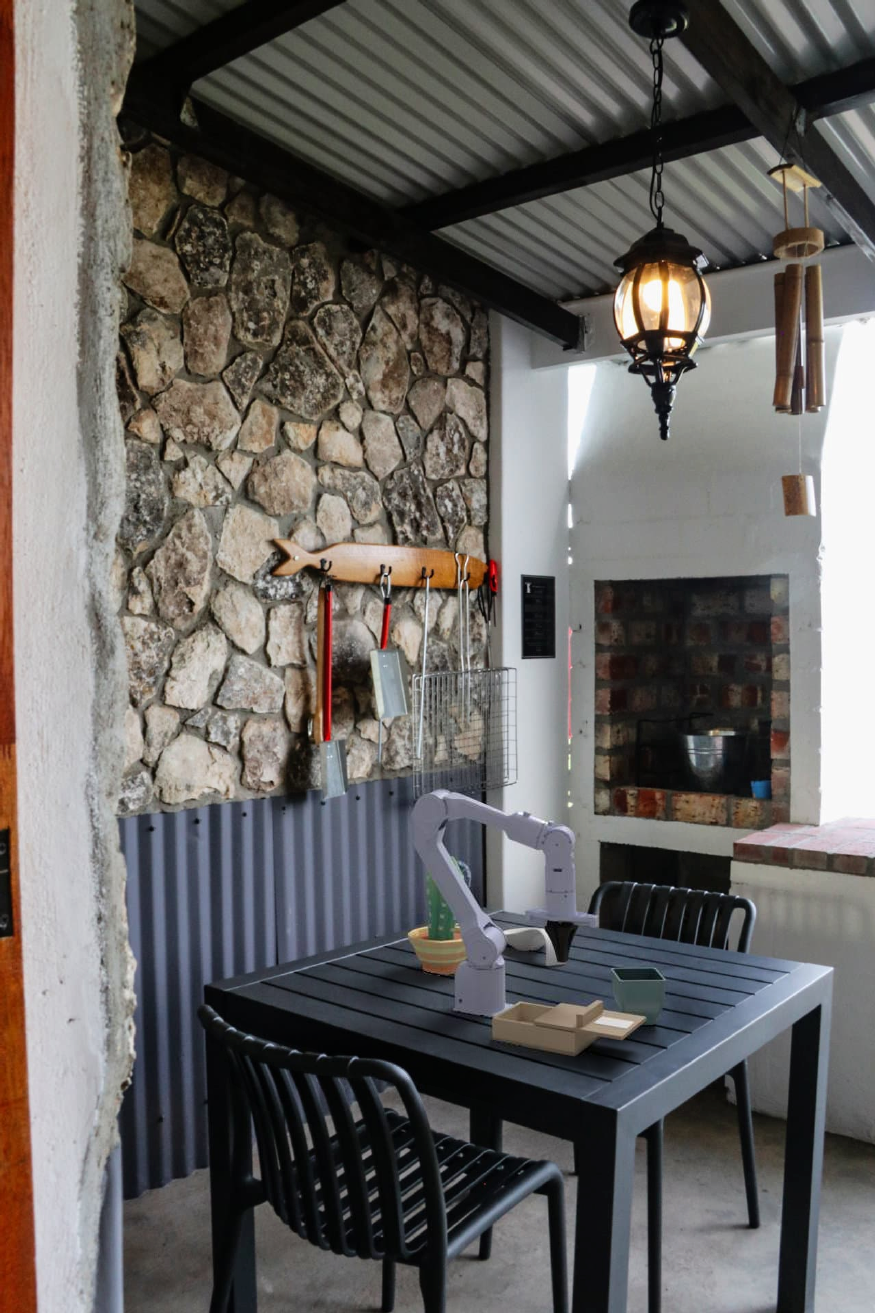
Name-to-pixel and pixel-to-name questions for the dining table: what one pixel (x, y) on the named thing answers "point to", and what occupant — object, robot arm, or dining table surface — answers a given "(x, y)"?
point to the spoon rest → (532, 942)
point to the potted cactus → (440, 931)
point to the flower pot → (639, 992)
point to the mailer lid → (591, 1020)
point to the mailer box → (537, 1031)
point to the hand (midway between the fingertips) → (562, 961)
